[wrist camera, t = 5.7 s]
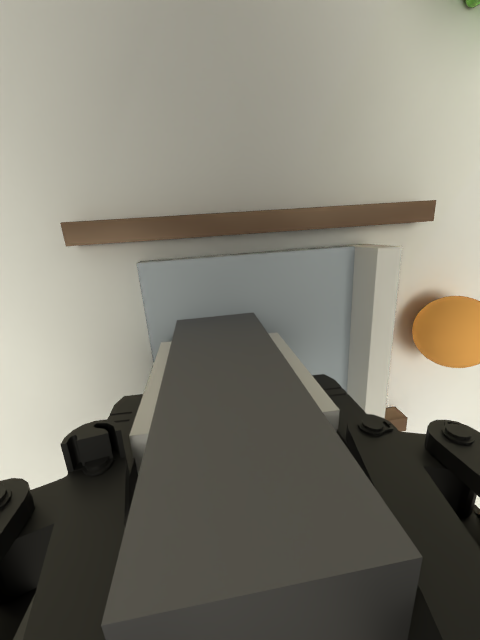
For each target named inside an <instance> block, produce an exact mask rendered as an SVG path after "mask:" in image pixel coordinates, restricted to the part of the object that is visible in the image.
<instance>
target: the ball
mask: <svg viewBox="0 0 480 640" xmlns="http://www.w3.org/2000/svg"><path fill="white" fill-rule="evenodd" d="M412 334H413V340H414V342H415V344H416V346H417V348H418V349H419V351H420V352H421V353H422V354H423V355H424V356H425V357H426V358H428V359H429V360H431V361H433V362H435V363H437V364H439V365H442V366H446V367H452V368H465V367H471V366H474V365H477V364H480V301H478V300H476V299H473V298H469V297H463V296H449V297H443V298H440V299H437V300H435V301H432V302H431V303H429V304H427V305H426V306H425V307H424V308H422V310H421V311H420V312H419V313H418V314H417V316H416V318H415V320H414V323H413V328H412Z"/></svg>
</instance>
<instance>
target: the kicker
mask: <svg viewBox="0 0 480 640" xmlns="http://www.w3.org/2000/svg"><path fill="white" fill-rule="evenodd" d="M401 256H402V246H387V245H372V244H361V245H348V246H335V247H322V248H309V249H295V250H282V251H269V252H256V253H243V254H230V255H217V256H204V257H191V258H178V259H165V260H152V261H140V262H138V263H137V268H138V274H139V280H140V286H141V291H142V297H143V303H144V309H145V315H146V321H147V327H148V332H149V338H150V344H151V350H152V356H153V362H155V359H156V356H157V353H158V350H159V347H160V344H161V342H171V341H172V342H171V346H170V350H169V354H168V358H167V362H166V366H165V370H164V374H163V378H162V382H161V386H160V390H159V394H158V398H157V402H156V406H155V410H154V414H153V418H152V422H151V426H150V430H149V434H148V439H147V443H146V447H145V451H144V455H143V459H142V463H141V467H140V471H139V475H138V479H137V483H136V487H135V491H134V495H133V499H132V503H131V507H130V511H129V515H128V519H127V523H126V527H125V531H124V535H123V539H122V543H121V547H120V551H119V555H118V559H117V563H116V567H115V571H114V575H113V579H112V583H111V587H110V591H109V595H108V599H107V603H106V607H105V611H104V615H103V620H102V624H101V627H102V630H103V633H104V636H105V639H106V640H408V635H409V629H410V624H411V618H412V613H413V607H414V602H415V596H416V591H417V585H418V580H419V574H420V569H421V564H422V558H423V557H422V555H421V554H420V552H419V551H418V550H417V548H416V547H415V545H414V544H413V542H412V541H411V539H410V538H409V537H408V535H407V534H406V532H405V531H404V529H403V528H402V526H401V525H400V523H399V522H398V521H397V519H396V518H395V516H394V515H393V513H392V512H391V510H390V509H389V508H388V506H387V505H386V503H385V502H384V500H383V499H382V497H381V496H380V495H379V493H378V492H377V490H376V489H375V487H374V486H373V484H372V483H371V482H370V480H369V479H368V477H367V476H366V474H365V473H364V471H363V470H362V469H361V467H360V466H359V464H358V463H357V461H356V460H355V458H354V457H353V456H352V454H351V453H350V451H349V450H348V448H347V447H346V445H345V444H344V442H343V441H342V440H341V438H340V437H339V435H338V434H337V432H336V431H335V429H334V428H333V427H332V425H331V424H330V422H329V421H328V419H327V418H326V416H325V415H324V414H323V412H322V411H321V409H320V408H319V406H318V405H317V403H316V402H315V401H314V399H313V398H312V396H311V395H310V393H309V392H308V390H307V389H306V388H305V386H304V385H303V383H302V382H301V380H300V379H299V377H298V376H297V375H296V373H295V372H294V370H293V369H292V367H291V366H290V364H289V363H288V361H287V360H286V359H285V357H284V356H283V354H282V353H281V351H280V350H279V348H278V347H277V346H276V344H275V343H274V341H273V340H272V338H271V337H270V335H269V334H268V333H276V332H277V333H278V334H279V335H280V336H281V338H282V339H283V340H284V341H285V343H286V344H287V345H288V346H289V347H290V349H291V350H292V351H293V352H294V354H295V355H296V356H297V357H298V359H299V360H300V361H301V362H302V364H303V365H304V366H305V367H306V369H307V370H308V371H309V372H310V374H311V375H320V374H325V375H327V376H329V377H331V378H333V379H334V380H336V381H337V383H338V384H339V385H340V386H341V387H342V388H343V389H344V390H345V391H346V392H347V394H348V395H350V396H351V397H352V399H353V400H354V401H355V402H356V403H357V404H358V405H359V406H360V407H361V408H362V409H363V410H364V411H365V412H366V413H367V414H373V415H376V416H379V417H382V418H384V419H385V410H386V400H387V391H388V381H389V372H390V362H391V352H392V343H393V333H394V324H395V314H396V304H397V295H398V285H399V276H400V266H401Z"/></svg>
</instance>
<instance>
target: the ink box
mask: <svg viewBox="0 0 480 640" xmlns="http://www.w3.org/2000/svg"><path fill="white" fill-rule="evenodd" d="M466 4H467V6H468V7H471V8H472V7H475V6H477V5H478V4H480V0H466Z"/></svg>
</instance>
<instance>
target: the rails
mask: <svg viewBox="0 0 480 640" xmlns="http://www.w3.org/2000/svg"><path fill="white" fill-rule="evenodd" d="M435 206H436V200H430V201H414V202H397V203H380V204H363V205H347V206H330V207H313V208H297V209H280V210H263V211H246V212H230V213H213V214H196V215H179V216H163V217H146V218H129V219H112V220H96V221H79V222H62V223H61V227H62V232H63V236H64V240H65V244H66V246H76V245H91V244H105V243H120V242H135V241H149V240H164V239H178V238H193V237H207V236H222V235H236V234H251V233H266V232H280V231H295V230H309V229H324V228H338V227H353V226H368V225H382V224H397V223H411V222H426V221H434V213H435ZM385 419H386V420H388V421H389V422H391V423H392V424H393V425H394V426H395V427H396V428H397V429H398V431H400V432H401V431H406V425H407V417H406V416H405V415H404V414H403V413H402V412H400V411H399V410H398V409H397V408H396V407H391V408H386V410H385Z"/></svg>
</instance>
